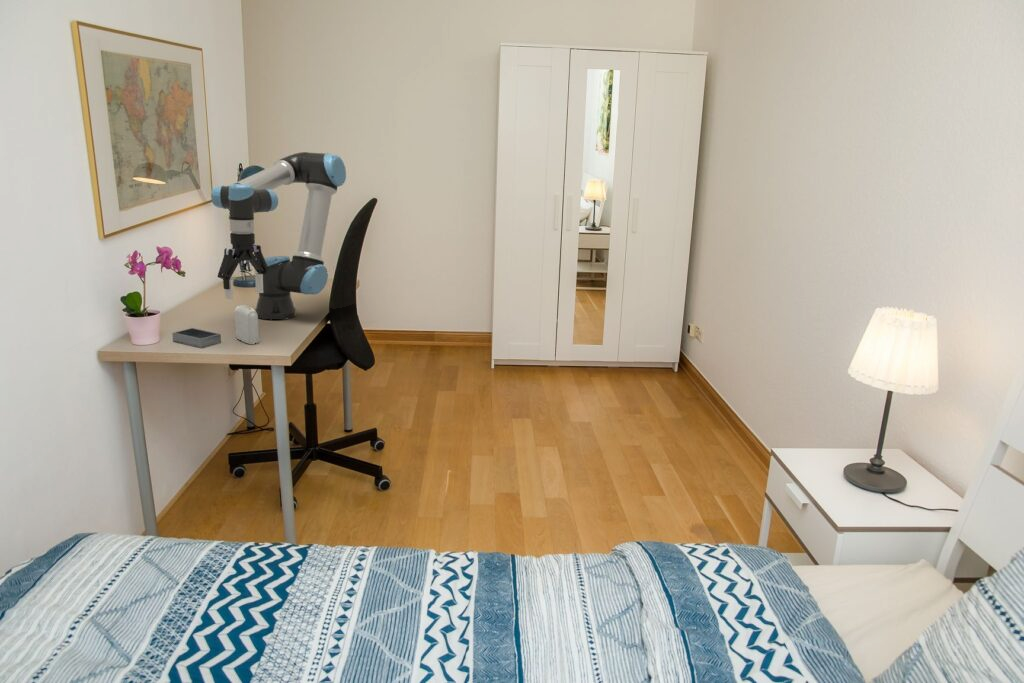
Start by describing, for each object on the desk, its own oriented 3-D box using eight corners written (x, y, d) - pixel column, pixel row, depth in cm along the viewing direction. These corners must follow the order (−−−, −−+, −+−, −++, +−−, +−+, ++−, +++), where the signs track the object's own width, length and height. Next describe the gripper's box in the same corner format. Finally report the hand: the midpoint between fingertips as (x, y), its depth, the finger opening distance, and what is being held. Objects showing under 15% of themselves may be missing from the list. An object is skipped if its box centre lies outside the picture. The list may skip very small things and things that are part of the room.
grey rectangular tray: (192, 336, 253) (192, 327, 252) (221, 342, 248) (220, 333, 247) (172, 341, 246) (172, 332, 245) (201, 348, 241) (201, 339, 240)
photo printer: (234, 338, 253) (232, 303, 250) (245, 336, 256) (244, 302, 253) (248, 345, 246) (247, 309, 243) (260, 343, 249) (259, 308, 246)
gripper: (221, 236, 229) (224, 303, 234) (278, 230, 250) (279, 291, 256) (203, 234, 232) (207, 299, 237) (261, 228, 254) (263, 288, 259)
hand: (244, 295), depth 247 cm, fingers open, 13 cm apart
